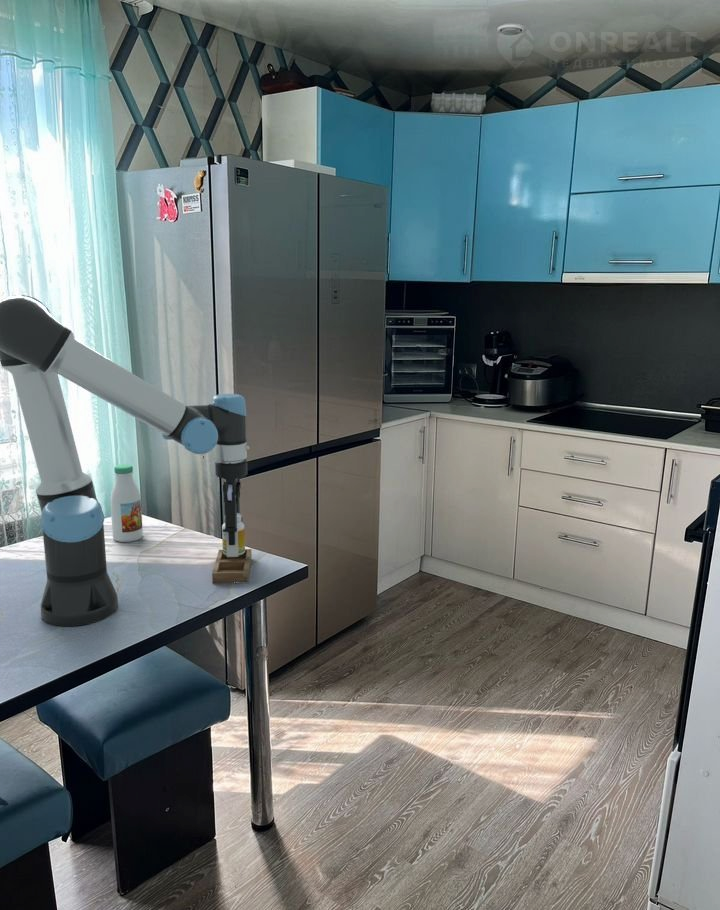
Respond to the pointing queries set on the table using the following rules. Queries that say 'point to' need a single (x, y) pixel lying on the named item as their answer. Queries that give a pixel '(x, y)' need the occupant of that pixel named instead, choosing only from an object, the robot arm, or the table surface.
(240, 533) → the supplement bottle
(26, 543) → the table surface
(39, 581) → the table surface
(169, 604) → the table surface
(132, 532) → the milk bottle
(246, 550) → the compartment tray
